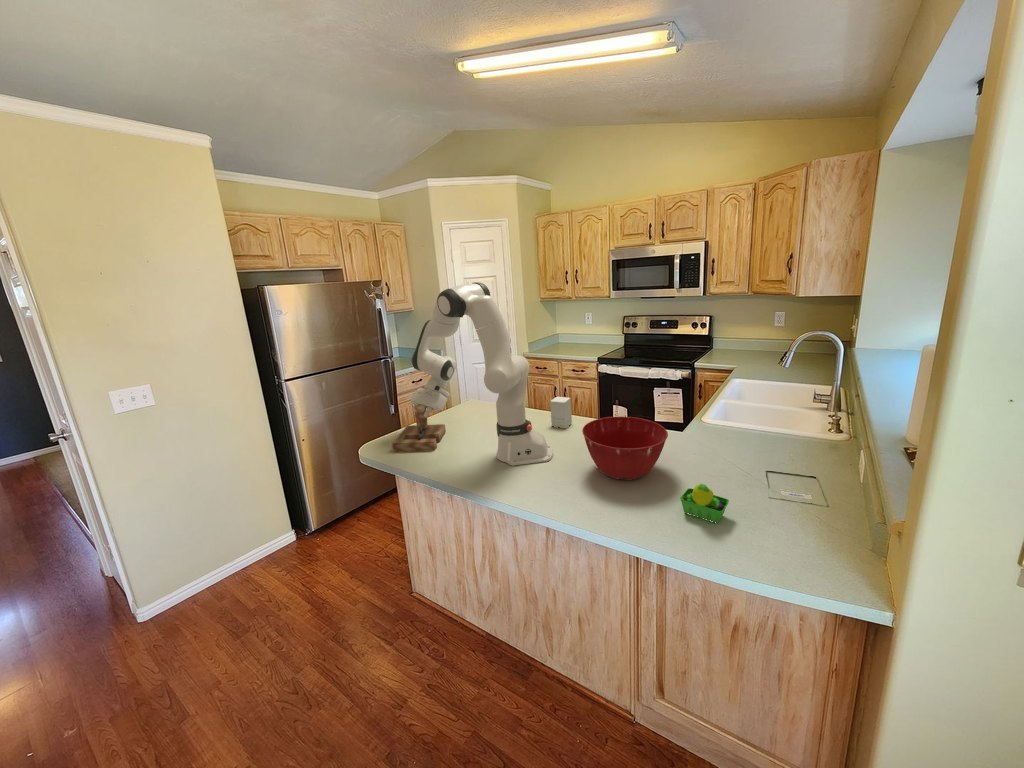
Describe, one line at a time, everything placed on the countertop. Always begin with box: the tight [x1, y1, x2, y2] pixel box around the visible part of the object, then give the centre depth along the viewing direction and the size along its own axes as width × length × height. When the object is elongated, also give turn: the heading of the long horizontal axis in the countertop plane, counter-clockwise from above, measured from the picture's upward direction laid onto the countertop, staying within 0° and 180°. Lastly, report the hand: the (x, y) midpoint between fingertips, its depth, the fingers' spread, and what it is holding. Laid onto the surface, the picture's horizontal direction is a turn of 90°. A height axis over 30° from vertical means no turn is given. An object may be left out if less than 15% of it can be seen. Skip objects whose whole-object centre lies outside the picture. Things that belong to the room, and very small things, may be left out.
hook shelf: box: [391, 423, 446, 453], centre depth 186 cm, size 18×20×8 cm
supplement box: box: [549, 396, 573, 429], centre depth 193 cm, size 7×7×13 cm
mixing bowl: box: [581, 416, 669, 480], centre depth 146 cm, size 28×28×15 cm
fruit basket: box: [679, 483, 730, 524], centre depth 118 cm, size 11×9×11 cm
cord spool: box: [413, 405, 429, 429], centre depth 190 cm, size 5×5×10 cm
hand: (419, 415), depth 189 cm, fingers closed on cord spool, 5 cm apart
